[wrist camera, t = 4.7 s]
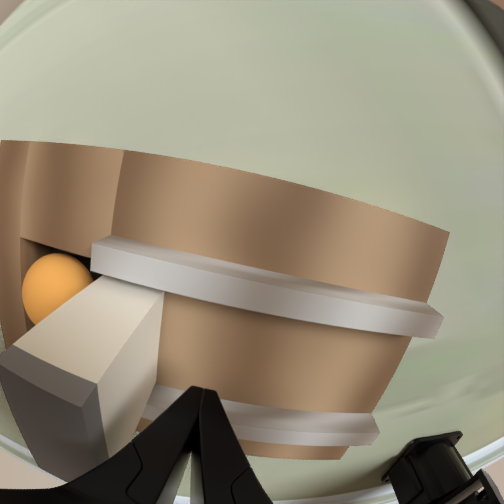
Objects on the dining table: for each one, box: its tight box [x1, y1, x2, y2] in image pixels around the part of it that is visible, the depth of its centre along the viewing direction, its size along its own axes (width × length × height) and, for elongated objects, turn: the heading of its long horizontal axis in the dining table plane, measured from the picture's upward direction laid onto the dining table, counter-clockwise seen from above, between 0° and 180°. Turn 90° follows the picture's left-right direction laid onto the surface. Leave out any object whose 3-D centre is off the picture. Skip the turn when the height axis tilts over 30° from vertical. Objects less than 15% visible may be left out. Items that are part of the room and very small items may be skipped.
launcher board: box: [0, 140, 450, 460], centre depth 12 cm, size 21×14×4 cm, turn 77°
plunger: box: [0, 275, 165, 482], centre depth 8 cm, size 2×5×6 cm, turn 167°
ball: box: [22, 253, 94, 325], centre depth 12 cm, size 4×4×4 cm
